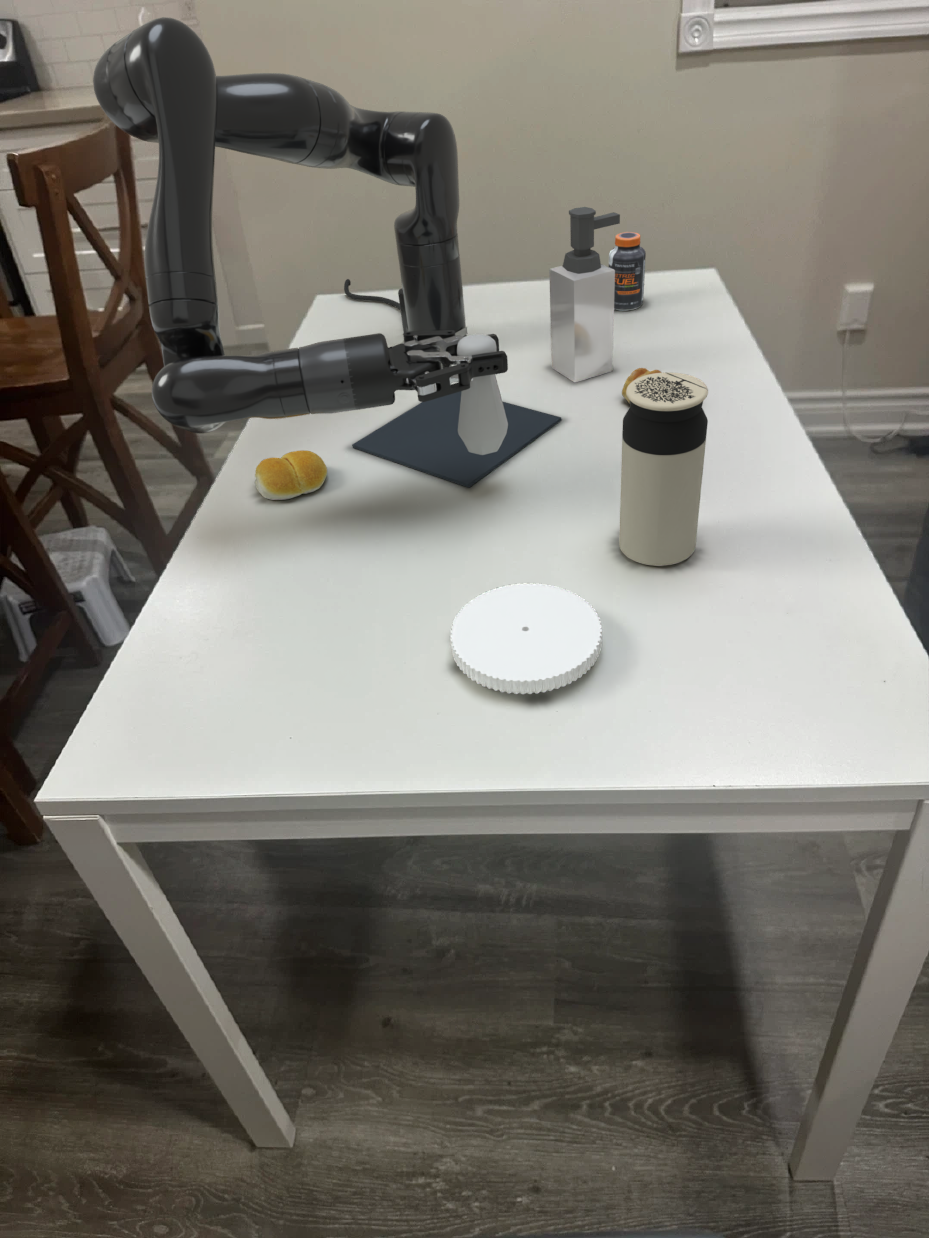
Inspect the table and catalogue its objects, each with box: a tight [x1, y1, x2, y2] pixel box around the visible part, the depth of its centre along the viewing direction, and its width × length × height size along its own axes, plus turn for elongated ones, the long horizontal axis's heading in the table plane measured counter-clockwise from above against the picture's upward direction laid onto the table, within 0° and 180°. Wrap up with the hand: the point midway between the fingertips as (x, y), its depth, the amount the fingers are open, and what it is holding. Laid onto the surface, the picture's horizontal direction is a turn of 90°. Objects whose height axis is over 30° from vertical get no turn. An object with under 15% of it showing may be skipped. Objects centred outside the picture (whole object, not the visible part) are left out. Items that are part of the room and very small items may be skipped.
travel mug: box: [618, 371, 709, 567], centre depth 86 cm, size 8×8×18 cm
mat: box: [351, 391, 562, 489], centre depth 116 cm, size 20×20×1 cm
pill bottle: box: [608, 231, 647, 312], centre depth 142 cm, size 6×6×11 cm
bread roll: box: [254, 450, 328, 501], centre depth 108 cm, size 8×9×4 cm
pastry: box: [621, 367, 663, 404], centre depth 116 cm, size 9×7×4 cm
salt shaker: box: [457, 333, 508, 455], centre depth 97 cm, size 6×6×13 cm
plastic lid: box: [449, 582, 603, 695], centre depth 81 cm, size 14×14×2 cm
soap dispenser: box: [548, 206, 621, 384], centre depth 121 cm, size 6×9×22 cm
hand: (501, 352), depth 94 cm, fingers closed on salt shaker, 4 cm apart
